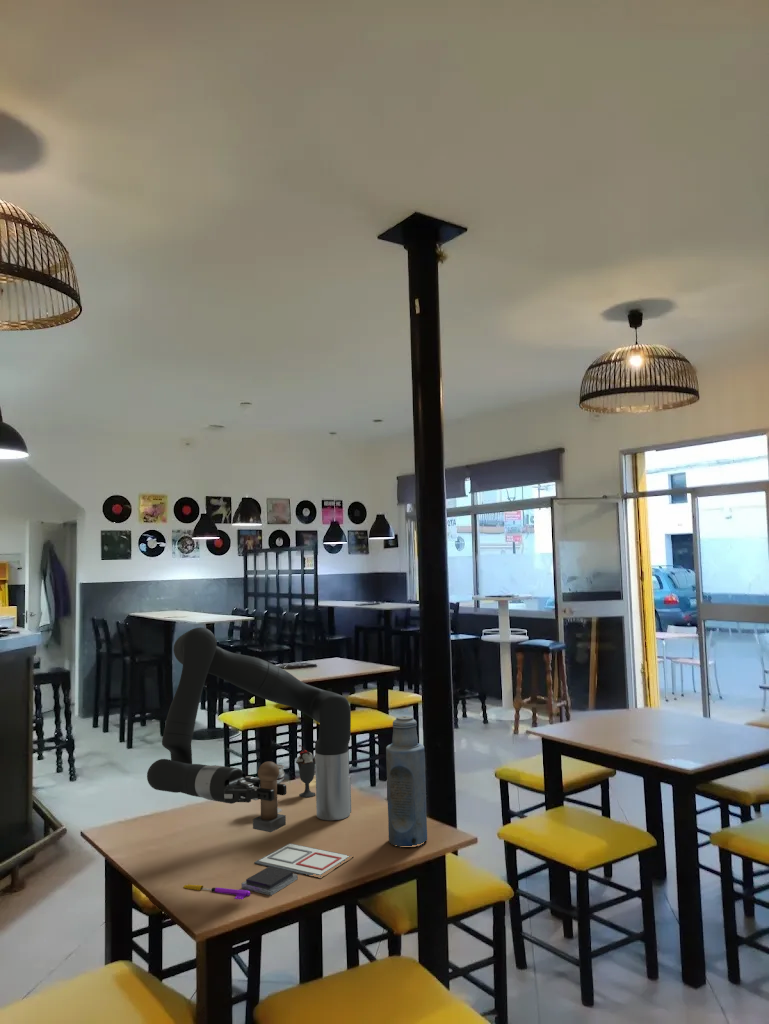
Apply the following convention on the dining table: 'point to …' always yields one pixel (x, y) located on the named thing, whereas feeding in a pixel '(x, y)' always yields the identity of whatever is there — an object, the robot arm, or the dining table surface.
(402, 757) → the bottle
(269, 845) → the dining table surface
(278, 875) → the ink pad
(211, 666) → the robot arm
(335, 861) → the print sheet
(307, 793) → the sundae
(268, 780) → the stamp
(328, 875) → the dining table surface
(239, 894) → the marker pen
